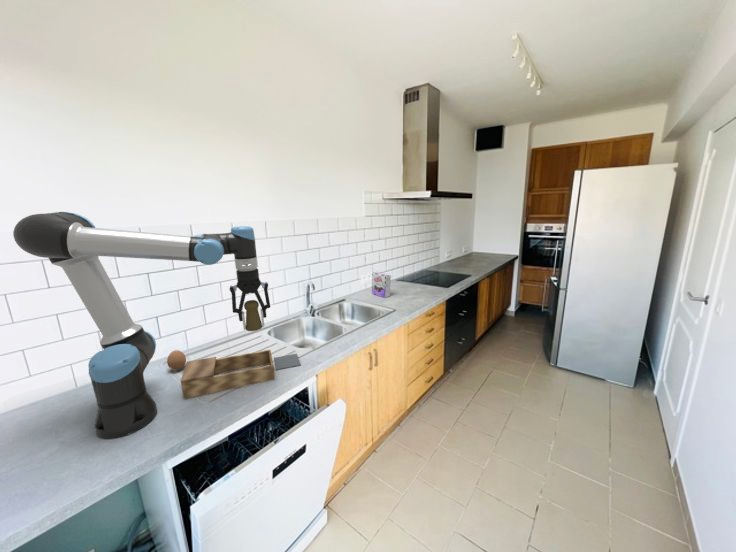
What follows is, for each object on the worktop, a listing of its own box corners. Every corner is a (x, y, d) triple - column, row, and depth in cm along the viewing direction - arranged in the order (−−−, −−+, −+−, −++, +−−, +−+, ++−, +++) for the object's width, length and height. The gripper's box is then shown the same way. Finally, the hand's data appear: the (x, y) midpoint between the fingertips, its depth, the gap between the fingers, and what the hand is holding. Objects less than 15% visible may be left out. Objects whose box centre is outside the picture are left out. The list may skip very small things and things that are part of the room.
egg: (189, 363, 126) (186, 346, 124) (185, 372, 120) (182, 353, 118) (171, 366, 124) (168, 348, 122) (166, 374, 118) (163, 355, 116)
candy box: (371, 293, 222) (371, 272, 218) (377, 292, 226) (377, 271, 222) (384, 298, 212) (385, 275, 208) (390, 296, 216) (391, 274, 212)
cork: (256, 331, 112) (253, 304, 109) (242, 330, 113) (238, 303, 111) (265, 325, 118) (262, 298, 115) (251, 324, 119) (248, 298, 116)
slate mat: (276, 370, 121) (276, 369, 121) (273, 358, 130) (273, 357, 130) (300, 365, 125) (300, 364, 125) (296, 354, 134) (296, 353, 134)
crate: (183, 398, 104) (180, 380, 102) (189, 377, 116) (186, 361, 114) (274, 379, 115) (273, 363, 114) (271, 362, 127) (270, 347, 126)
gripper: (217, 273, 103) (226, 335, 109) (274, 268, 110) (280, 326, 116) (219, 269, 110) (227, 327, 115) (273, 264, 116) (278, 319, 122)
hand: (254, 326), depth 116 cm, fingers closed on cork, 6 cm apart
